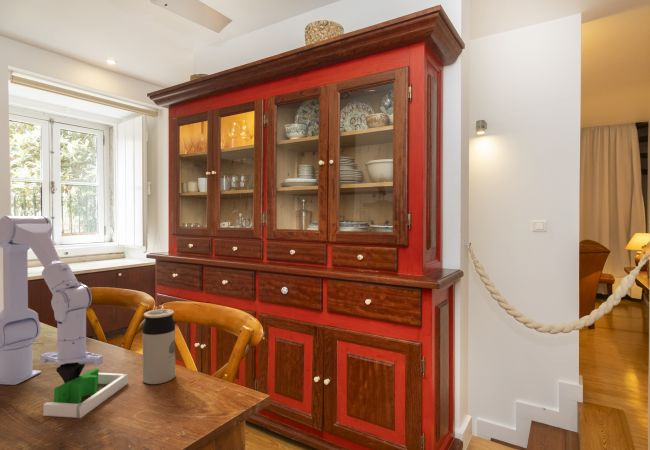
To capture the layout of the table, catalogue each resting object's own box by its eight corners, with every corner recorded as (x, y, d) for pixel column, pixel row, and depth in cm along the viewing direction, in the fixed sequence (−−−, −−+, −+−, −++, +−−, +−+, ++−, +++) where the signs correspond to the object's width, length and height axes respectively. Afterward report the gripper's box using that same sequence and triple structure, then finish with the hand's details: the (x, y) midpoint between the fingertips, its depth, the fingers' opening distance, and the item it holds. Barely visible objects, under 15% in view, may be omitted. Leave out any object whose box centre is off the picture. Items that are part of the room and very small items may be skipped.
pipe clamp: (66, 411, 84) (67, 391, 83) (53, 407, 85) (54, 388, 84) (106, 388, 95) (107, 370, 94) (94, 385, 95) (94, 368, 95)
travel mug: (135, 383, 97) (135, 315, 97) (156, 371, 105) (156, 307, 105) (162, 386, 96) (162, 317, 95) (181, 374, 103) (181, 309, 103)
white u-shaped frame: (43, 415, 81) (43, 404, 81) (96, 381, 98) (96, 372, 98) (80, 417, 81) (80, 406, 81) (127, 383, 97) (127, 374, 97)
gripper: (29, 341, 86) (29, 399, 86) (88, 344, 85) (88, 402, 85) (54, 331, 93) (54, 385, 93) (108, 334, 92) (108, 388, 92)
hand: (72, 392), depth 90 cm, fingers closed, pressing on pipe clamp
